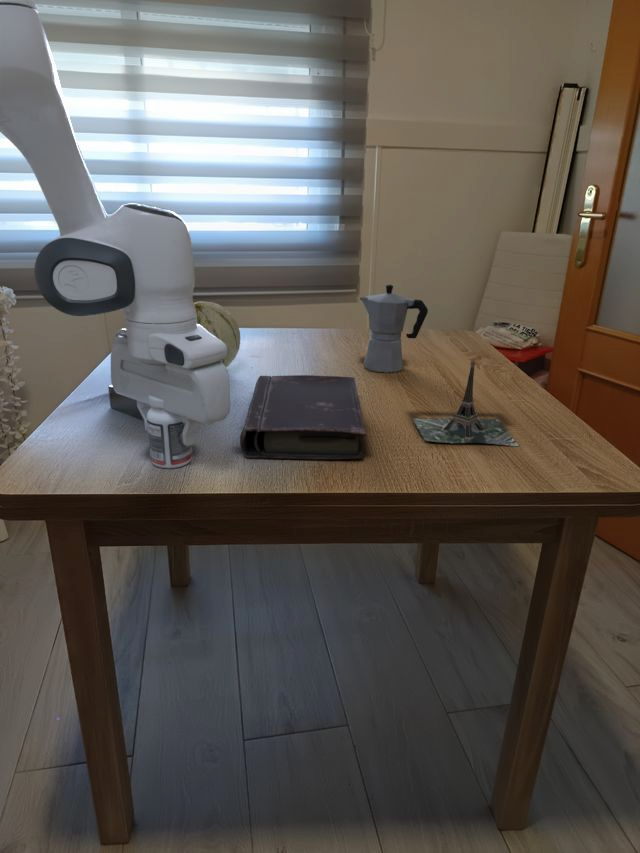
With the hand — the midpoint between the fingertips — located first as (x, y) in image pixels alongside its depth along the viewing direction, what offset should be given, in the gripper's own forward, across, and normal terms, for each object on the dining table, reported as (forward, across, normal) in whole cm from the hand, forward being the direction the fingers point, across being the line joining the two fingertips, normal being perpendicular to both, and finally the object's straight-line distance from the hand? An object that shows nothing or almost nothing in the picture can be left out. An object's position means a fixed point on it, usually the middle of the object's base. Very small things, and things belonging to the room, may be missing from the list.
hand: (170, 436), depth 79 cm
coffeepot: (+4, 0, +61) cm, 61 cm away
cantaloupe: (+4, -27, +32) cm, 42 cm away
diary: (+4, +7, +22) cm, 23 cm away
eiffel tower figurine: (+4, +28, +37) cm, 47 cm away
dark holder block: (+4, -19, +15) cm, 24 cm away
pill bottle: (+4, 0, 0) cm, 4 cm away
